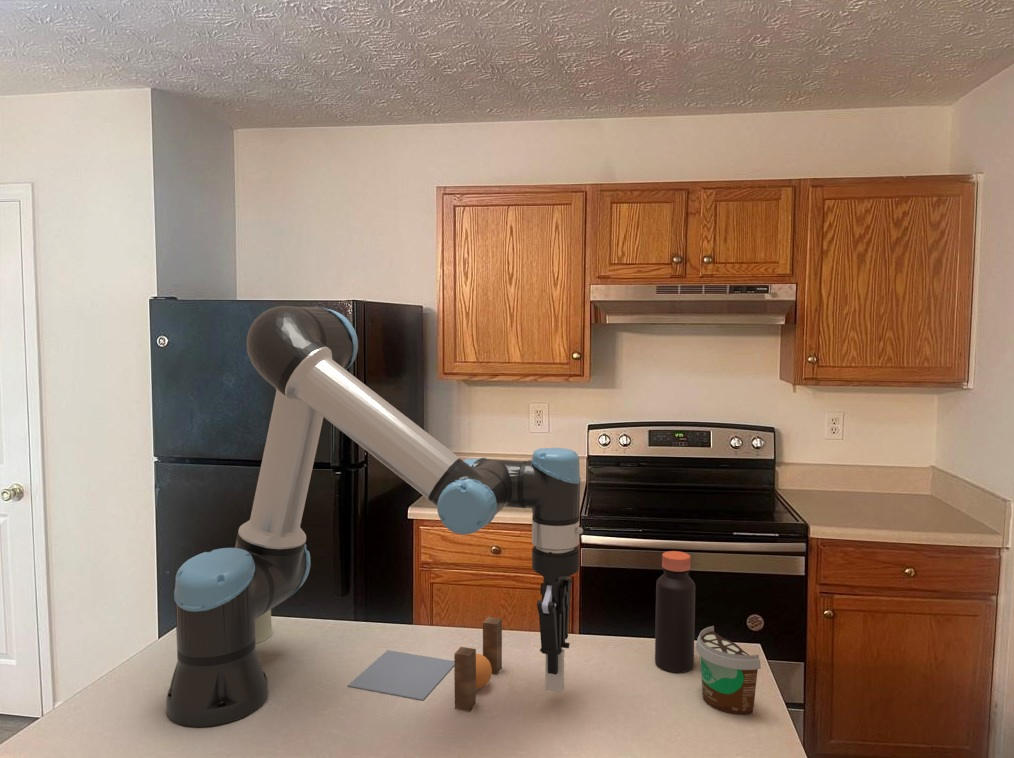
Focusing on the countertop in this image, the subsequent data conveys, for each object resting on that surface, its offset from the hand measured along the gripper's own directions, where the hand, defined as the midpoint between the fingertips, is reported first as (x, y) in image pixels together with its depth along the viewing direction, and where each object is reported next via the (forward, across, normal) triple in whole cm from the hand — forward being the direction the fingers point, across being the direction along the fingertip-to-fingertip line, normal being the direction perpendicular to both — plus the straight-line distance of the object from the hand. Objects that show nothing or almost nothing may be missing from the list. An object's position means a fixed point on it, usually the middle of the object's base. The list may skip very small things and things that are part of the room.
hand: (554, 689), depth 116 cm
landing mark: (+2, 0, +27) cm, 27 cm away
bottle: (+2, +19, -17) cm, 26 cm away
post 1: (+2, -6, +13) cm, 15 cm away
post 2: (+2, +6, +13) cm, 15 cm away
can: (+2, +4, +63) cm, 63 cm away
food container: (+2, +8, -25) cm, 26 cm away
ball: (-1, 0, +14) cm, 14 cm away
